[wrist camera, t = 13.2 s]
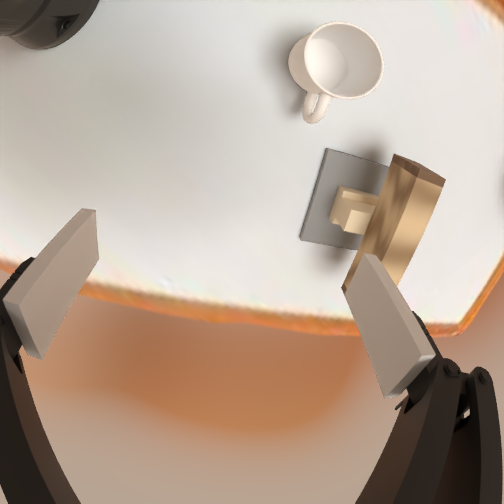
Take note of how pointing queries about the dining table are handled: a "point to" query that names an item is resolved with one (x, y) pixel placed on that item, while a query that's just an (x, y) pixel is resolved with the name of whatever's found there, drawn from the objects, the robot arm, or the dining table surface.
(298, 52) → the cup
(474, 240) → the dining table surface
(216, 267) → the dining table surface
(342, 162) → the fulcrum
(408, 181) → the oak bar
